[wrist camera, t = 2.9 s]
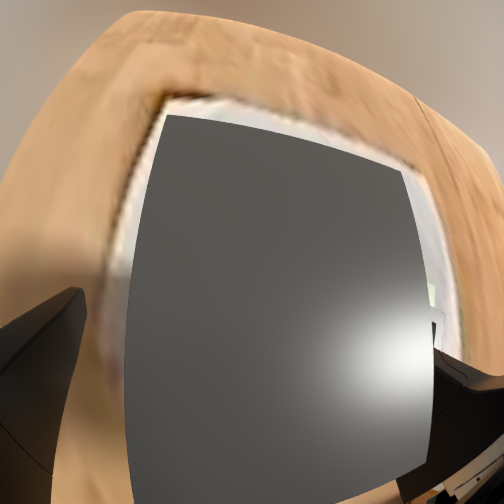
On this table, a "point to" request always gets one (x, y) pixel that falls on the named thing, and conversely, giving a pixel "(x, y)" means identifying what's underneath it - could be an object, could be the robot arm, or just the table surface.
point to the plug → (273, 323)
